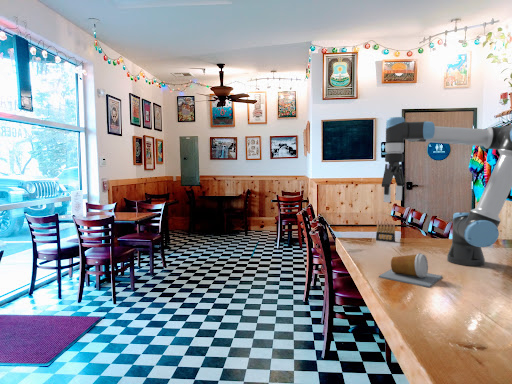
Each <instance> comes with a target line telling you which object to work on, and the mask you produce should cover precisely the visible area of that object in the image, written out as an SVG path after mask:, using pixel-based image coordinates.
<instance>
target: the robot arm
mask: <svg viewBox="0 0 512 384" xmlns="http://www.w3.org/2000/svg"><path fill="white" fill-rule="evenodd" d="M405 140H406V141H408V142H409V143H410V142H411V143H415V142H417V143H418V142H420V143H437V144H448V145H449V144H450V145H463V146H479V147H484V149H485V150H486V149H487V150H496V151H497V152H498V154H499V157H498V160H497V161H496V164H495V165H494V168H493V170H492V172H491V174H490V176H489V179H488V182H487V183H486V186H485V187H484V190H483V192H482V194H481V197H480V198H479V200H478V203H477V205H476V207H475V208H472V209H470V211H469V212H455V213H453V217H452V239H451V246H450V248H449V250H448V253H447V257H446V259H447V262H449V263H453V264H456V265H462V266H470V267H481V266H484V265H485V264H486V263H485V262H486V260H485V255H484V252H483V250H482V248H487V247H490V246H492V245H494V244H495V243H496V242H497V240H498V238H499V236H500V233H499V228H498V227H499V226H500V223H501V218H500V216H499V215H500V214H501V211H502V209H503V207H504V204H505V202H506V200H507V198H508V196H509V195H510V193H511V192H510V191H511V190H512V124H509V125H505V126H497V127H495V126H489V127H488V128H473V127H456V126H453V127H452V126H438V125H435V123H434V122H433V121H426V120H424V121H406V120H405V117H403V116H393V117H389V118H387V119H386V125H385V145H384V148H385V155H384V156H385V157H384V162H385V167H384V171H383V177H382V182H381V187H382V188H383V202H384V203H391V199H392V198H391V195H392V194H391V192H392V191H391V189H392V188H391V187H392V186H391V184H392V182H393V178H394V181H395V183H396V184H395V194H394V195H395V199H394V200H395V201H403V187H405V178H404V172H403V164H402V162H404V154H403V153H404V149H405V143H404V142H405ZM400 163H401V164H400Z"/></svg>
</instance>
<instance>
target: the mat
mask: <svg viewBox="0 0 512 384" xmlns="http://www.w3.org/2000/svg"><path fill="white" fill-rule="evenodd" d="M378 278H381V279H386V280H391V281H396V282H400V283H404V284H410V285H415V286H419V287H424V288H431V287H432V286H433V285H434V284H436V283H437V282H438V281H439V280H441V279H442V278H443V275H442V274H441V275H440V274H436V273H435V274H434V273H429V272H428V273H427V276H426V277H423V278H420V277H418V276H412V275H406V274H400V273H394V272H393V271H392V268H391V269H388V270H387V271H385V272H383V273H382V274H380V275H378Z"/></svg>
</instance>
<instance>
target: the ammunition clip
mask: <svg viewBox="0 0 512 384" xmlns="http://www.w3.org/2000/svg"><path fill="white" fill-rule="evenodd" d="M375 234H376V235H375V236H376V237H375V241H379V242H388V243H396V224H395V221H393V222H392V221H390V222H389V221H385V220H384V221H382V220H380V222H379V220H377V223H376V233H375Z"/></svg>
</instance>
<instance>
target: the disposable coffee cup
mask: <svg viewBox="0 0 512 384" xmlns="http://www.w3.org/2000/svg"><path fill="white" fill-rule="evenodd" d="M390 268H391V269H392V271H393V272H394V273H400V274H406V275H412V276H418V277H420V278H423V277H426V276H427V273H429V263H428V259H427V256H426V255H425V254H423V253H417V254H410V255H400V256H393V257H392V258H391V260H390Z"/></svg>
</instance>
